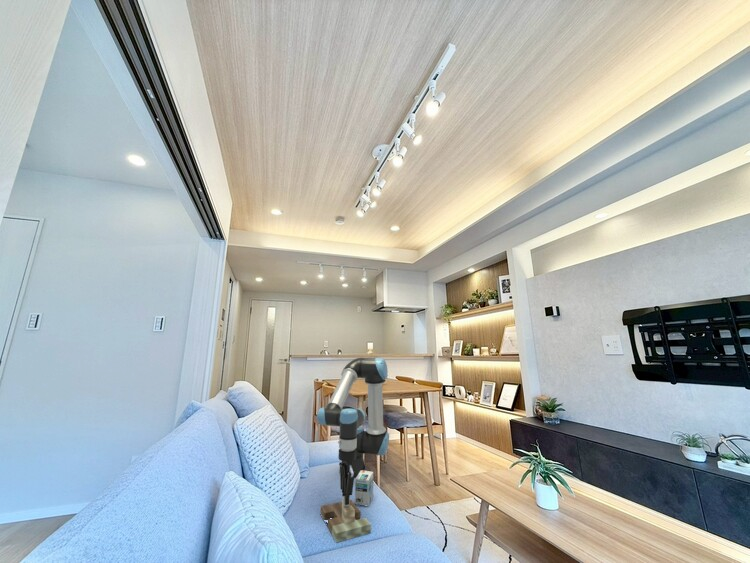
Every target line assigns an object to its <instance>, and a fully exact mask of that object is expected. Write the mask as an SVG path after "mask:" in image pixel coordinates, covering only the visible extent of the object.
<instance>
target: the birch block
mask: <svg viewBox="0 0 750 563" xmlns="http://www.w3.org/2000/svg"><path fill="white" fill-rule="evenodd" d="M342 520H343V521H344V523H345V524H347V523H351V522H355V509H354V508H353V507H352V505H350V506H346V507H342Z"/></svg>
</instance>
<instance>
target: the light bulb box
mask: <svg viewBox="0 0 750 563" xmlns="http://www.w3.org/2000/svg"><path fill="white" fill-rule="evenodd" d="M354 483H355V486H354V487H355V488H354V491H355V492H354V493H355V494H354V504H360V505H367V506H368V507H369V506H370V504H371V502H372V500H373V497H374V471H369V470H366V471H363V470H361V471H360V473H359V474H358V476H357V477H355V478H354ZM360 505H359V506H360ZM367 506H366V507H367Z"/></svg>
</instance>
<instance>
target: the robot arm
mask: <svg viewBox="0 0 750 563" xmlns="http://www.w3.org/2000/svg"><path fill="white" fill-rule="evenodd" d="M388 372H389V371H388V365H387V362H386V360H385V359H384V358H379V357H357V358H354V359H353V360H351V361H349V362H348V363H347V364H346V365H345V367H344V368H343V369H342V371H341V377H340V379H339V381H338V383H337V385H336V387H335V388H334V391H333V392H332V395H331V397H330V398H329V401H328V403H327V405H326V407H325V406H324V407H321V408H319V409H318V411H317V414H316V421H317V424H318V425H320V426H326V427H327V426H328V427H339V437H338V438H339V440H338V441H337V443H338V448H339V449H338V456H337V458H338V460H339V464H338V465H339V478H340V479H339V480H340V481H339V482H340V490H341V493H342V498H341V499H342V500H341V502H342V507H346V506H349V505H350V500H351V499H350V498H351V496H353V491H354V483H355V478H356V477H357V476H358V474H359V473H360V471H361V470H363V471H367V468H366V467H367V466H366V463H365V459H364V454H365V455H372V456H373V455H374V456H385V455H386V454H387V451H388V448H389V442H390V433H389V432H387V428H386V427H385V426H384V405H383V404H384V398H383V385H384V383H385V382H386V379H388V376H389V374H388ZM358 379H364V384H366V385H367V419H368V423H367V424H368V426H367V427H366V429H364V427H363V426H362V425H364V423H365V421H366V413H365V411H364V410H363V409H362V408H343V407H344V405H345V403H346V400H347V398H348V396H349V395H350V391H351V390H352V387H353V385H354V383H355V382H357V380H358ZM361 426H362V427H361Z"/></svg>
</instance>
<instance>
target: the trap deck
mask: <svg viewBox="0 0 750 563" xmlns="http://www.w3.org/2000/svg"><path fill="white" fill-rule="evenodd" d="M350 505H352V507H353V508H354V509H355V522H351V523H347V524H345V523H344V521H343V520H342V501H339V502H333V503H329V504H325V505H321V506H320V512H319V513H321V514H320V516H321V515H322V516H321V518H322V517H323V518H322V519H324V520H328V523H327V522H326V523H325V525H326V524H327V525H326V527H327V529H328V531H329V532H330V535H331V536H332V538H333V540H334V541H335V543H336V544H337V543H341V542H344V541H347V540H351V539H355V538H358V537H361V536H365V535H369V534H371V533H372V532H371V530H372V528H371V527H372V526H371V525H372V524H371V523H370V521H369V520H368V519H367V518H366V517H362V518H361V516H362V515H361V510H360V508H358V507H357V506H358V505H355V502H354V501H353V500H352V499H350ZM350 505H349V506H350ZM330 518H332V519H330ZM324 520H323V521H324Z"/></svg>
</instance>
